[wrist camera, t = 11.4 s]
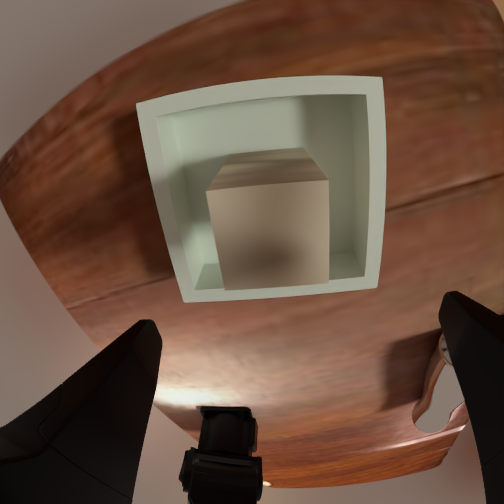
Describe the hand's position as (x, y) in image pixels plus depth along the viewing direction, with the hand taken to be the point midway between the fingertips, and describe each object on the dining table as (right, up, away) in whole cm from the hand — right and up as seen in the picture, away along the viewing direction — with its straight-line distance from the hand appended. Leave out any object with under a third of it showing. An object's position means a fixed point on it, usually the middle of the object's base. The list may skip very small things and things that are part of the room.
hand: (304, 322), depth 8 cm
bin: (0, +7, +11) cm, 13 cm away
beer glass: (+23, -20, +21) cm, 37 cm away
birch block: (0, +6, +10) cm, 12 cm away
